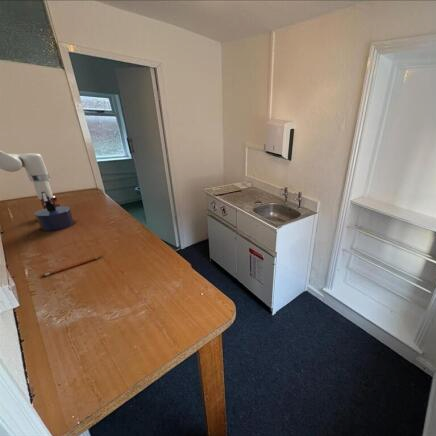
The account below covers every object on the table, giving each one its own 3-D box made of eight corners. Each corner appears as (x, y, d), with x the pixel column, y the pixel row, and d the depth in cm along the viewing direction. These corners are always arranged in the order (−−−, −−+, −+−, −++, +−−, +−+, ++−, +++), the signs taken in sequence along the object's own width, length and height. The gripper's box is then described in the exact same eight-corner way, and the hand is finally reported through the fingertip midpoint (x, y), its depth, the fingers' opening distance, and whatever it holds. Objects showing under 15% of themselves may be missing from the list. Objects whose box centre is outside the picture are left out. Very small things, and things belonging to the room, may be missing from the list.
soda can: (45, 214, 146) (37, 196, 141) (60, 211, 152) (54, 194, 147) (48, 217, 143) (41, 199, 138) (64, 214, 148) (57, 196, 143)
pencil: (43, 276, 94) (42, 274, 93) (100, 257, 107) (99, 255, 107) (43, 277, 93) (42, 275, 93) (100, 258, 107) (100, 256, 106)
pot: (40, 232, 125) (33, 218, 122) (43, 224, 135) (37, 210, 132) (73, 226, 133) (68, 213, 130) (74, 218, 143) (69, 206, 140)
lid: (32, 220, 122) (27, 208, 119) (37, 211, 132) (32, 200, 129) (70, 214, 130) (65, 203, 127) (71, 206, 140) (67, 196, 138)
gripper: (31, 175, 126) (44, 206, 134) (26, 181, 115) (40, 215, 122) (50, 173, 131) (62, 204, 138) (47, 180, 119) (60, 212, 127)
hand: (52, 209), depth 130 cm, fingers closed on lid, 3 cm apart
